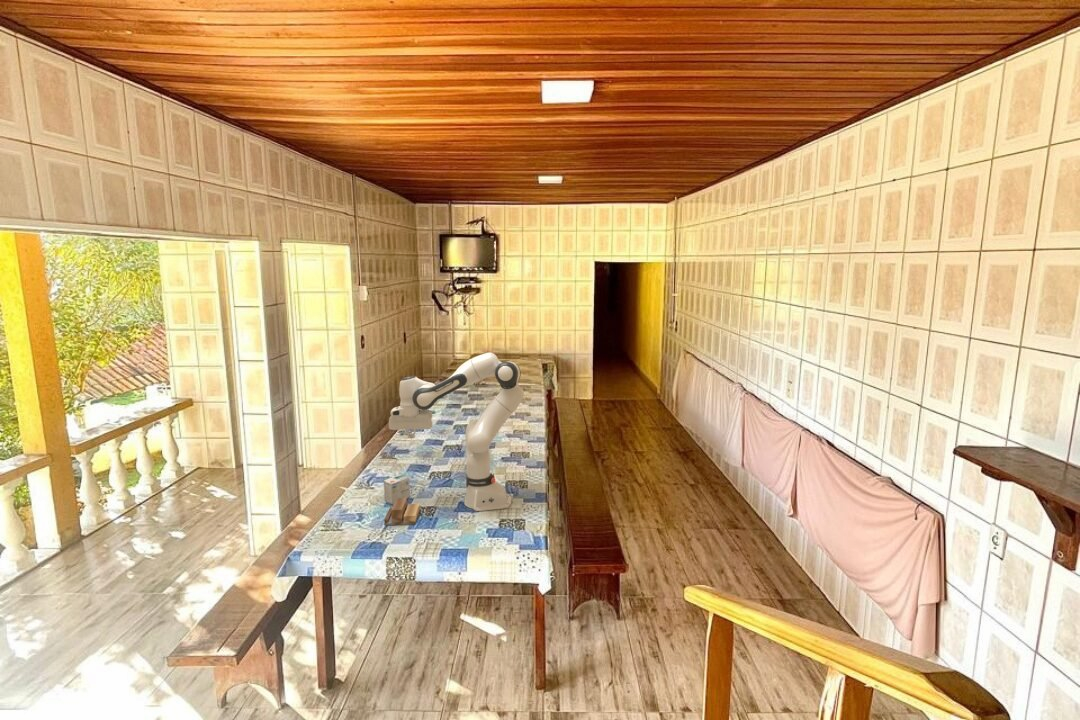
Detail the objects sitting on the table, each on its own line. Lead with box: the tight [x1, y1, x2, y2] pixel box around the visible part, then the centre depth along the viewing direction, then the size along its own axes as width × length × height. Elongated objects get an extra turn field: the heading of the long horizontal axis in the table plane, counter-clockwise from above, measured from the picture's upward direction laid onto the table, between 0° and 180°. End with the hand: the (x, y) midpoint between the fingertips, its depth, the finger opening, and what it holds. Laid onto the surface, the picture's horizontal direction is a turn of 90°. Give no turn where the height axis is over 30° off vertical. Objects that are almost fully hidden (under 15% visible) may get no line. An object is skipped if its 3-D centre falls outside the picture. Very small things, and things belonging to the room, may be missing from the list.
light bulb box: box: [383, 473, 411, 505], centre depth 269 cm, size 11×7×11 cm, turn 141°
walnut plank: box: [391, 498, 408, 523], centre depth 250 cm, size 4×12×6 cm, turn 3°
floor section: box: [383, 503, 421, 527], centre depth 250 cm, size 14×13×4 cm
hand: (411, 437), depth 265 cm, fingers closed
